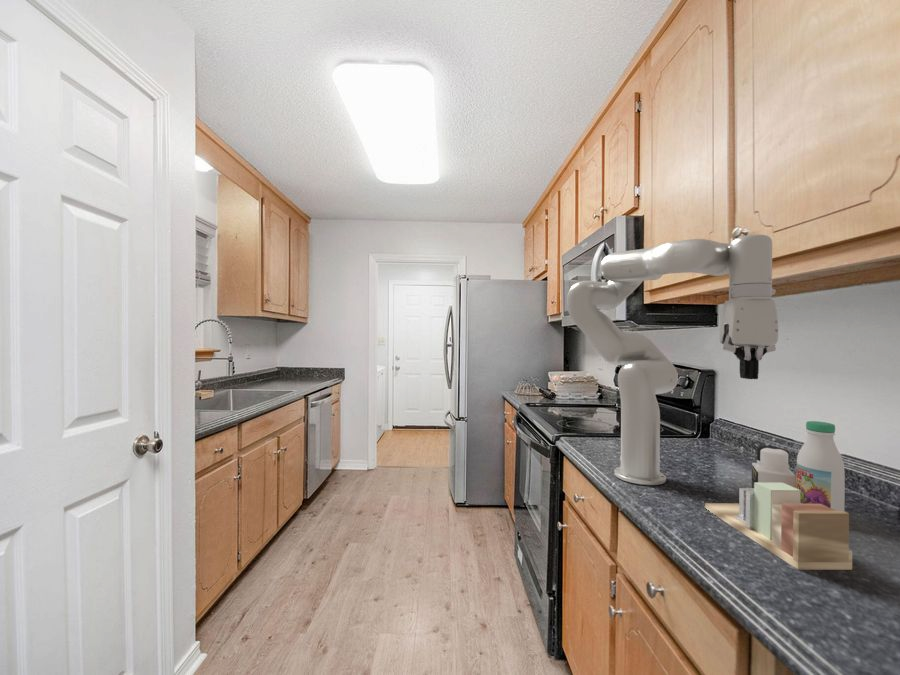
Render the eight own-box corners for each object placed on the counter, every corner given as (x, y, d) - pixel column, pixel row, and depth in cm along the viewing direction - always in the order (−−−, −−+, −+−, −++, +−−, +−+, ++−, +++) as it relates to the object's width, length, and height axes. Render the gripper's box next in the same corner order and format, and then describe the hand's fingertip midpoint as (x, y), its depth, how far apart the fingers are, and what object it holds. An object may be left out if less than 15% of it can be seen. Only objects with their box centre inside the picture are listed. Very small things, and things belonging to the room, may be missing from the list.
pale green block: (753, 529, 79) (754, 482, 79) (782, 529, 79) (782, 482, 79) (770, 539, 75) (771, 490, 75) (800, 539, 75) (800, 490, 75)
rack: (704, 508, 92) (705, 467, 92) (745, 508, 92) (745, 467, 92) (798, 569, 68) (798, 513, 68) (852, 569, 68) (852, 513, 68)
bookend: (731, 517, 84) (731, 483, 84) (766, 517, 84) (766, 483, 84) (749, 528, 79) (749, 492, 79) (786, 529, 79) (787, 492, 79)
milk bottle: (820, 509, 92) (821, 419, 92) (855, 525, 84) (856, 426, 84) (786, 509, 92) (787, 419, 92) (818, 525, 84) (819, 426, 84)
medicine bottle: (751, 490, 103) (751, 442, 103) (787, 496, 99) (788, 446, 99) (756, 500, 96) (757, 449, 96) (795, 506, 93) (796, 453, 93)
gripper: (770, 296, 93) (769, 377, 94) (704, 295, 93) (703, 376, 93) (798, 292, 86) (797, 380, 86) (727, 291, 86) (726, 380, 86)
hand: (748, 378), depth 90 cm, fingers closed
